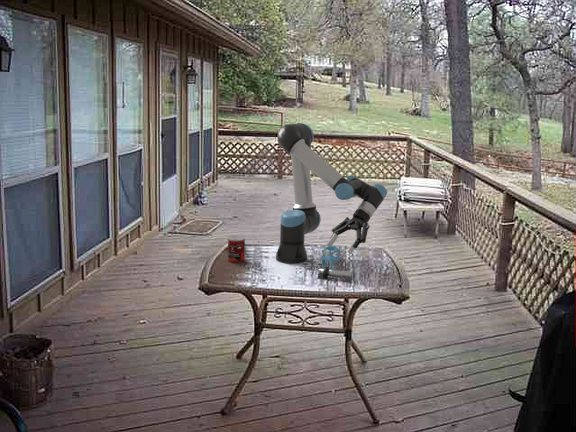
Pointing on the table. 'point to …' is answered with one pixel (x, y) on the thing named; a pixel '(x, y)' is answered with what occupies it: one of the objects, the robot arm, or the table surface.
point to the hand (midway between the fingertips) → (338, 249)
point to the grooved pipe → (334, 274)
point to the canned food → (236, 249)
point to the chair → (330, 256)
